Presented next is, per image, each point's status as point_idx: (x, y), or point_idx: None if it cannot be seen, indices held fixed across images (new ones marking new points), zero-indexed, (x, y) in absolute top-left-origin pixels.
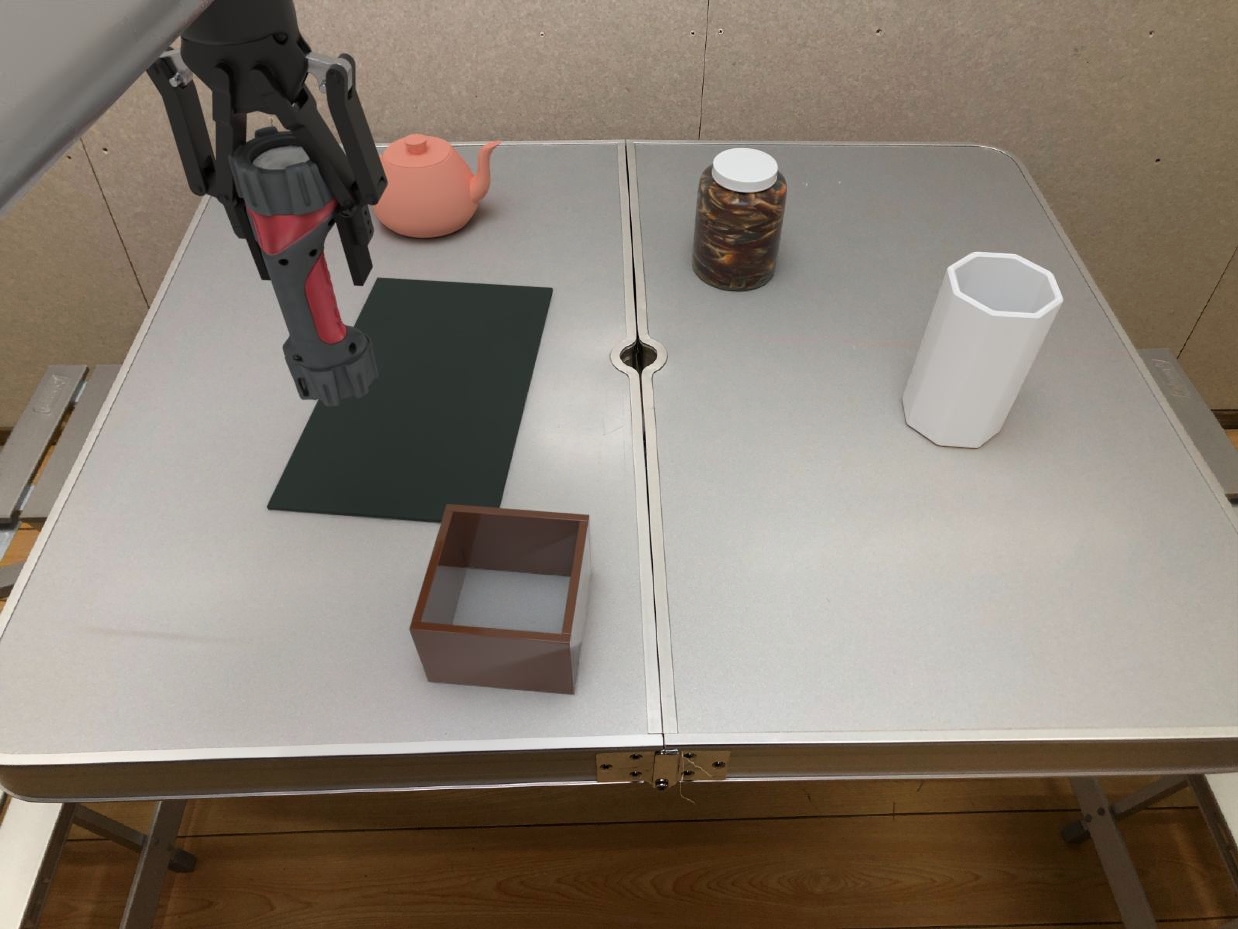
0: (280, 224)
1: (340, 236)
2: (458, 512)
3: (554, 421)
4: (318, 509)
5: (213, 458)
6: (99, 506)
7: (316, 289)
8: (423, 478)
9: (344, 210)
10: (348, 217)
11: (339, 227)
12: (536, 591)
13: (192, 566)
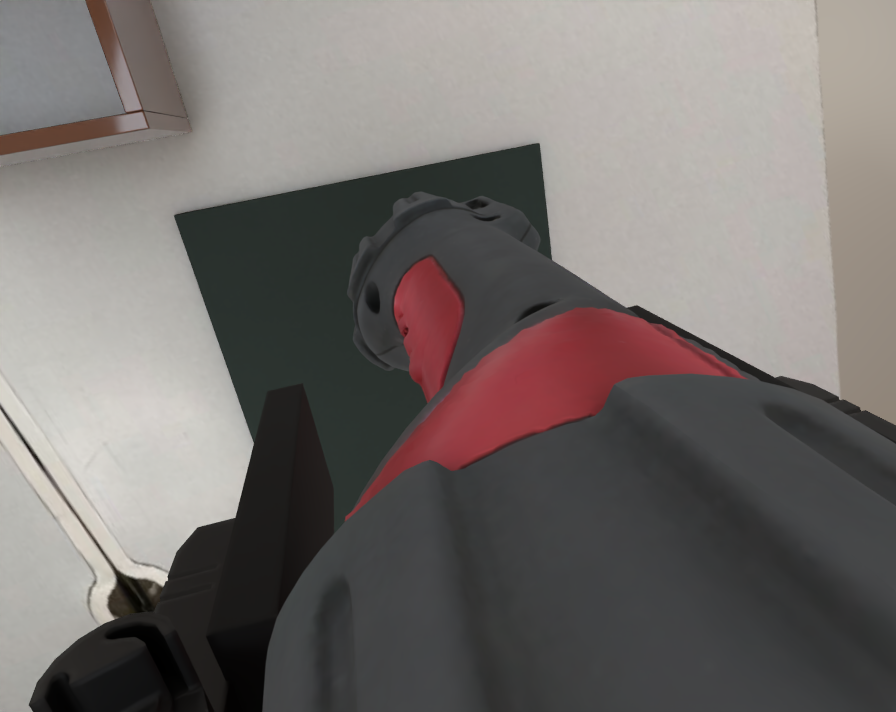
0: (543, 382)
1: (283, 509)
2: (115, 115)
3: (197, 441)
4: (460, 161)
5: (658, 212)
6: (773, 77)
7: (434, 328)
8: (333, 268)
9: (118, 662)
10: (119, 619)
11: (269, 548)
12: (33, 106)
13: (594, 4)
